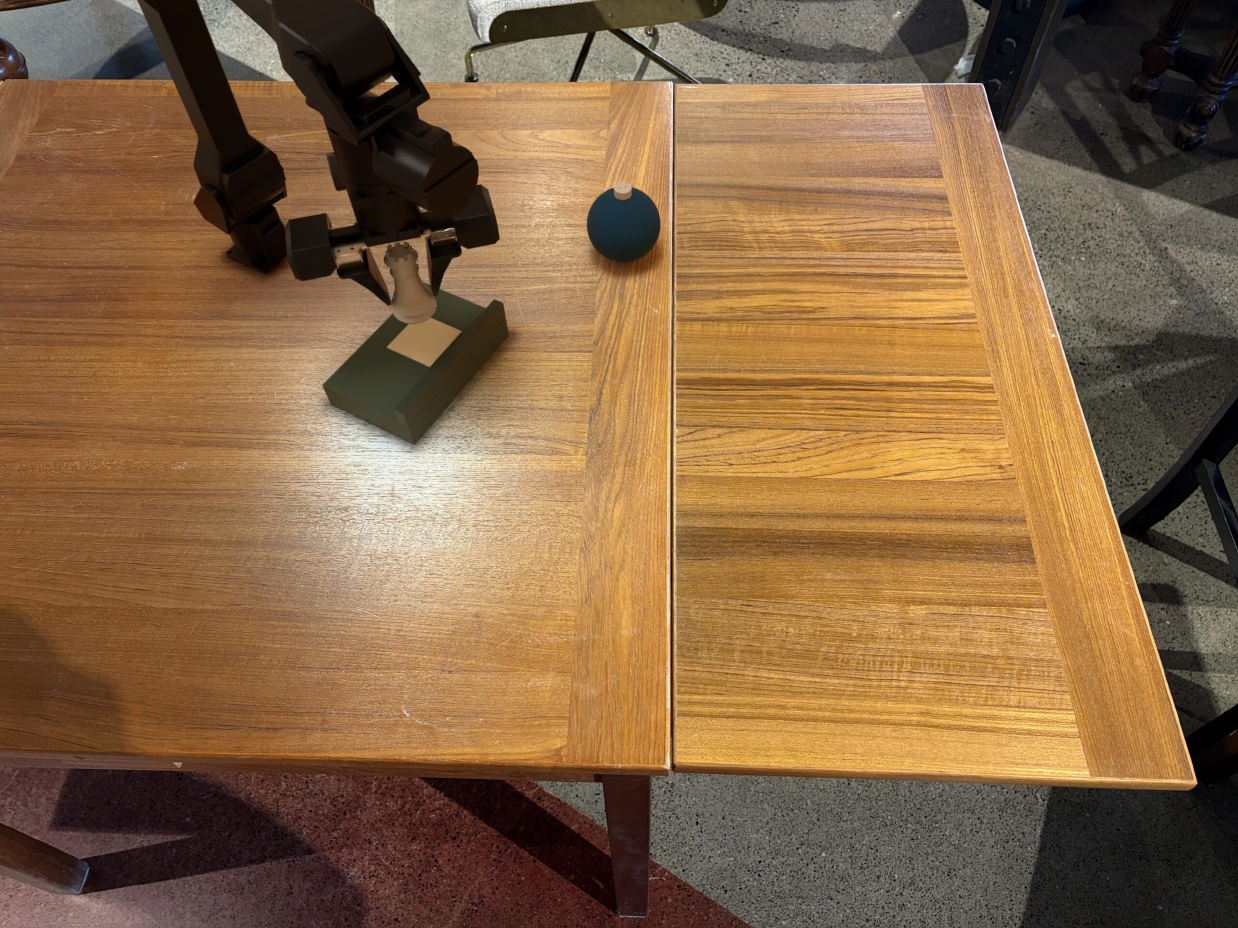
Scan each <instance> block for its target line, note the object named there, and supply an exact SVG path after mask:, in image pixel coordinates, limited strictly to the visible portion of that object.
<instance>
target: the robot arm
mask: <svg viewBox="0 0 1238 928" xmlns="http://www.w3.org/2000/svg"><path fill="white" fill-rule="evenodd" d="M136 1H137V3H138V6H139V8H140V9H141V12H142V14H143V16H144V19H145V21H146V23H147V25H148V29H149V30H150V32H151V34H152V36H153V39H154V41H155V43H156V46H157V48H158V50H159V53H160V54H161V57H162V59H163V62H164V64H165V66H166V68H167V70H168V73H169V76H170V77H171V80H172V82H173V84H174V86H175V90H176V91H177V93H178V96H179V99H180V100H181V103H182V104H183V107H184V109H185V111H186V113H187V116H188V118H189V120H190V123H191V124H192V127H193V130H194V131H195V134H196V137H197V143H196V144H197V145H196V149H195V154H194V159H193V168H194V171H195V174H196V177H197V180H198V182H199V183H198V184H199V185H200V187H199V190H198V192H197V193H196V196H195V198H194V199H193V204H194V206H195V208H196V209H197V211H198V212H199V214H200V215H201V217H202V218H203V219H204V220H205V221H206V222H208V223H209V224H211V225H212V226H214V227H215V228H217V229H218V230H220V231H221V232H223V233H224V234H226V235H227V236H229V237H230V239H231V241H232V243H233V245H232V246H231V247H230V248H229V249H227V250H226V251H225V255H226V257H227V258H228V259H231V260H232V261H235V262H237V263H238V264H239V263H240V264H242V265H244V266H246V267H248V268H250V269H253V270H255V271H257V272H259V273H262V274H268V273H270V272H271V271H272V270H273V269H274V268H275V267H276V266H278V264H280V263H281V262H282V261H283V260H284V259H285V258H287V260H288V265H289V267H290V269H291V272H292V274H293V277H294V279H295V280H298V281H300V282H305V281H312V280H316V279H321V278H326V277H332V275H333V274H334V272H335V271H336V274H337V277H338V278H339V279H340V280H347V279H349V280H352V281H353V282H355V283H357V284H358V285H360V286H361V287H363V288H365V289H366V290H368V291H369V292H370V293H372V294H373V295H374V296H375V297H376V298H378V300H380V301H381V302H382V303H384V304H385V305H386V306H387V307H389V306H390V307H391V306H392V304H391V299H392V297H391V296H390V291H389V288H388V286H387V283H386V281H385V279H384V276H383V274H382V272H381V270H380V268H379V266H378V264H377V262H376V260H375V257H374V255H373V253H372V251H371V248H377V247H382V246H388V245H389V244H391V245H392V244H395V243H398V242H400V243H404V241H406V242H408V241H414V240H419V239H424V240H425V249H426V251H425V252H426V262H427V272H428V280H429V284H430V285H431V290H432V293H433V296H434V297H435V296H437V295H438V292H439V289H441V285H442V282H443V279H444V276H445V274H446V271H447V270H448V268H449V266H450V264H451V262H452V260H453V259H455V258H459V257H461V256H462V255H463V250H462V247H463V248H465V249H466V250H471V249H476V248H481V247H487V246H490V245H491V246H492V245H496V244H497V243H498V242H499V241H500V240H501V236H500V230H499V225H498V224H499V223H498V220H497V215H496V212H495V209H494V205H493V202H492V198H491V194H490V191H489V189H488V188H487V187H486V186H484V185H483V184H481V183H480V184H478V183H479V177H480V171H479V167H480V166H479V162H478V159H476V158H475V156H474V154H473V152H472V151H471V150H470V149H468V148H467V147H466V146H463V145H461V144H460V143H458V142H457V141H454V140H453V137H452V134H451V133H450V131H449V130H446V129H444V128H442V127H440V126H437V125H433V124H430V123H429V122H427V121H425V120H423V119H421V118H420V116H419V112H418V107H421V106H422V105H423V104H425V103H427V102H428V101H429V100H431V95H430V93H429V91H428V89H427V88H426V86H425V84H424V83H423V81H422V80H421V78H420V77H421V75H422V72H421V71H420V69H418V67H417V66H416V65H415V63H414V61H412V59H411V58H410V56H409V55H408V54H407V53H406V51H405V49H404V48H403V47H402V45H401V44H400V42H398V40H397V39H396V37H395V36H394V34H393V32H392V31H391V29H390V28H389V26H388V24H387V23H386V22H385V20H383V18H381V16H379V15H378V14H376V13H375V12H374V11H373V10H372V9H371V8H370V7H368V6H367V5H365V4H363V2H360V1H359V0H230V1H231V2H232V3H233V4H234V5H235V6H236V7H237V8H238V9H239V10H240V11H242V12H243V14H245V15H246V16H247V17H249V19H251V20H252V22H254V23H255V24H256V25H258V26H259V27H260V28H261V29H262V30H263V31H264V32H265V33H266V34H267V35H268V36H269V37H270V38H271V39H272V40H273V41H274V42H275V44H276V47H277V51H278V54H279V59H280V63H281V67H282V69H283V71H284V72H285V73H286V74H287V75H288V76H289V77H290V78H291V79H292V81H293V83H294V84H295V86H296V88H298V90H299V92H301V94H302V95H303V96H304V101H305V104H306V105H307V107H309V108H310V109H312V110H314V111H316V112H317V113H319V114H320V115H321V116H322V118H323V122H324V125H325V129H326V132H327V134H328V138H329V142H330V144H331V147H332V150H333V151H330V152H326V161H327V164H328V168H329V173H330V175H331V180H332V183H333V186H334V189H335V191H336V192H341V191H346V194H347V196H348V199H349V202H350V205H351V208H352V209H351V210H352V212H353V215H354V217H355V220H356V221H355V222H354V223H353V224H352V225H347V226H342V227H337V228H333V225H332V221H331V218H330V216H329V213H328V212H322V213H318V214H317V213H316V214H312V215H307V216H301V217H295V218H290V219H288V220H287V222H286V224H284V222H283V221H282V219H281V217H280V214H279V212H278V209H277V207H276V206H274V205H275V204H277V203H278V202H280V201H281V200H283V199H285V198H287V197H288V189H287V182H286V181H287V177H286V175H285V169H284V167H283V165H282V164H281V161H280V160H279V158H278V154H277V153H276V152H274V151H273V150H272V149H271V148H270V147H268V146H267V145H265V144H264V143H263V142H261V141H259V139H257V138H255V137H254V136H253V135H251V134H250V133H249V131H248V128H247V126H246V123H245V120H244V118H243V115H242V112H241V110H240V107H239V105H238V103H237V99H236V98H235V95H234V92H233V89H232V87H231V83H230V82H229V79H228V77H227V74H226V71H225V69H224V66H223V63H222V62H221V58H220V55H219V53H218V51H217V49H216V45H215V42H214V41H213V38H212V35H211V32H210V30H209V28H208V25H207V22H206V20H205V17H204V14H203V12H202V9H201V7H200V4H199V1H198V0H136ZM391 77H392V78H393V79H394V80H395V81H396V83H397V84H396V85H394V86H393V87H391V88H390V89H387V90H386V91H385V92H383V93H381V94H379V95H378V94H377V93H375V92H373V91H371V90H372V89H374V88H376V87H377V86H379V85H381V84H383V83H384V82H385V81H388V80H389V79H391Z"/></svg>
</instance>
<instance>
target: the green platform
mask: <svg viewBox="0 0 1238 928" xmlns="http://www.w3.org/2000/svg"><path fill="white" fill-rule="evenodd" d="M422 283H424V284H425V285H426V286H427V287H428V288H429V289H430V290H431V285H430V283H427V282H425V281H422ZM431 291H432V290H431ZM434 298H435V300H436V303H437V307H436V311H435V313H434V314H433V315H432V316H431V317H430V318H429V319H428V320H427V321H425V322H423V323H419V324H407V323H404V322H402V321H400V320H398V319H397V318H396V317H395V316H394V315H393V313H391V314H390V315H389V316H388V317H387V318H386V319H385V320H384V321H383V322H382V324H380V326H379V327H377V329H376V330H375V331H374V332H373V333H372V334H370V336H368V338H367V339H366V340H365V341H364V342H363V343H362V344H360V346H359V347H357V349H356V350H355V351H354V352H353V353H352V354H351V355H350V356H349V357H348V358H347V359H346V360H345V361H344V362H343V363H342V364H341V365H340V366H339V367H338V368H337V369H336V370H335V371H334V372H333V374H331V375H330V376H329V378H327V380H325V381H324V383H322V389H323V390H324V392H325V395H326V397H327V399H328V401H329V404H330V405H332V406H335V407H336V408H338V409H340V410H343V411H345V412H346V413H348V414H351V415H353V416H355V417H357V418H359V419H360V420H363V421H365V422H367V423H369V424H371V425H373V426H375V427H377V428H379V429H381V430H383V431H386V432H388V433H390V434H391V435H393V436H396V437H398V438H400V439H402V440H404V441H405V442H408V443H410V444H412V445H414V446H415V445H416V444H417V443H418V441H419V440H420V439H421V438H422V437H423V436H424V434H426V432H427V431H428V430H429V429H430V427H431V426H433V424H434V423H435V422H436V421H437V419H438V418H439V417H440V416H441V415H442V414H443V413H444V411H446V409H447V408H448V407H449V406H450V405H451V403H452V402H453V401H454V400H455V399H456V398H457V397H458V395H460V393H461V392H462V391H463V390H464V388H465V387H466V386H467V385H468V384H469V383H470V381H472V379H473V378H474V377H475V376H476V375H477V374H478V372H479V371H480V370H481V369H482V367H483V366H484V365H486V363H487V362H488V361H489V360H490V358H491V357H492V356H493V355H494V354H495V353H496V351H497V350H498V349H499V348H500V347H501V346H502V344H503V343H504V342H505V341H506V340H507V338H509V336H510V334H509V333H510V332H509V327H508V322H507V321H508V320H507V315H506V311H505V304H504V302H502V301H500V300H498V299H495V298H494V299H492V301H490V303H489V304H488V305H487V306H486V307H484V306H481V305H479V304H477V303H475V302H473V301H470V300H467V299H465V298H463V297H460V296H458V295H457V294H453V293H452V292H448V291H446V290H443V289H442V288H440V289H439V292H438V295H437V296H435V297H434Z"/></svg>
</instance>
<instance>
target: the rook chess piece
mask: <svg viewBox="0 0 1238 928" xmlns="http://www.w3.org/2000/svg"><path fill="white" fill-rule="evenodd" d="M384 252H385V253H384V256H383V264H384V265H385V266H386V267H387V268H389V270H388V271H389V275H390V276H391V277H392V278H393V283H394V291H393V293H392V297H391V304H392V305H391V308H392V314H393V315H394V316H395V317H396V318H397V319H398V320H400V321H402V322H404V323H407V324H419V323H423V322H425V321H427V320H428V319H429V318H430V317H431V316H432V315H433V314H434V313H435V311H436V307H437V303H436V300H435V298H434V296H433V293H432V291H431V290H430V289H429V288H428V287H427V286H426V285H425V284H424V283H423V280H422V278H421V276H420V274H419V270H420V266H419V264H418V259H419V253H418V250H416V249H415V248H414V247H413V246H412V245H410V242H408V241H403V242H402V243H401V242H398V243H394V245H392V244H387V245H386V250H384Z"/></svg>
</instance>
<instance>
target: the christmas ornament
mask: <svg viewBox="0 0 1238 928" xmlns="http://www.w3.org/2000/svg"><path fill="white" fill-rule="evenodd" d="M661 224H662V223H661V216H660V211H659V209H658V207H657V204H656V203H655V201H654V200H653V199H652V198H651V196H649V195H648V194H647V193H645V192H644V191H642V190H641V189H639V188H637V187H634V186H632V185H631V184H630V183H628V182H626V181H620V182H617V183H616V184H615V185H614V186H613V187H611V188H609V189H607V190H604V191H603V192H602V193H600V194H599V195H598V196H597V197H596V199H595V200H594V201H593V202H592V204H591V205H590V207H589V210H588V213H587V217H586V232H587V236H588V239H589V241H590V243H591V245H592V246H593V248H594V249H595V251H596V252H597V253H598V254H599V255H601V256H602V257H604V258H605V259H607V260H609V261H611V262H616V263H623V264H624V263H633V262H635V261H636V262H637V261H638V260H640V259H642V258H644V257H645V256H647V255H648V254H649V253H650V252H651V251H652V249H653V248H655V245H656V244H657V242H658V239H659V237H660V233H661Z"/></svg>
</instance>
